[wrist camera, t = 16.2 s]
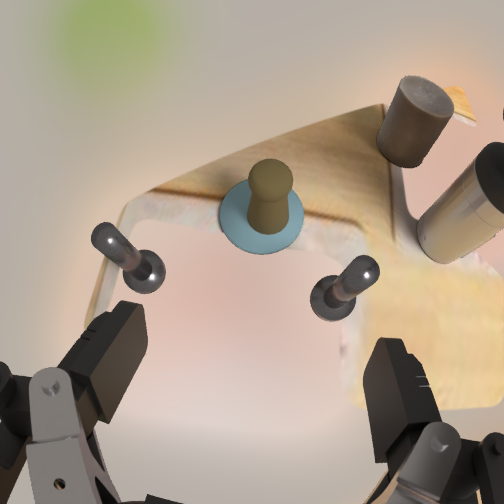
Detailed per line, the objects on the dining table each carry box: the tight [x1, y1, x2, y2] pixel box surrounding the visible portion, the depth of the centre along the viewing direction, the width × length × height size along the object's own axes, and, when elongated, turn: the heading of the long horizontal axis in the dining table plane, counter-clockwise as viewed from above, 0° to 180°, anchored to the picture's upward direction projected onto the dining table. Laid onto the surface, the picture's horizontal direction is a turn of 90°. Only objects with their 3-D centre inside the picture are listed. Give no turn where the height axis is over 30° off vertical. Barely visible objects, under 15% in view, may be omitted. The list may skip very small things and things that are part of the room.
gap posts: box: [91, 222, 380, 322], centre depth 35 cm, size 32×6×14 cm, turn 82°
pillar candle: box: [377, 76, 454, 168], centre depth 43 cm, size 10×10×15 cm
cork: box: [247, 159, 293, 235], centre depth 39 cm, size 6×6×11 cm
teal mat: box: [220, 180, 304, 255], centre depth 45 cm, size 12×12×1 cm
